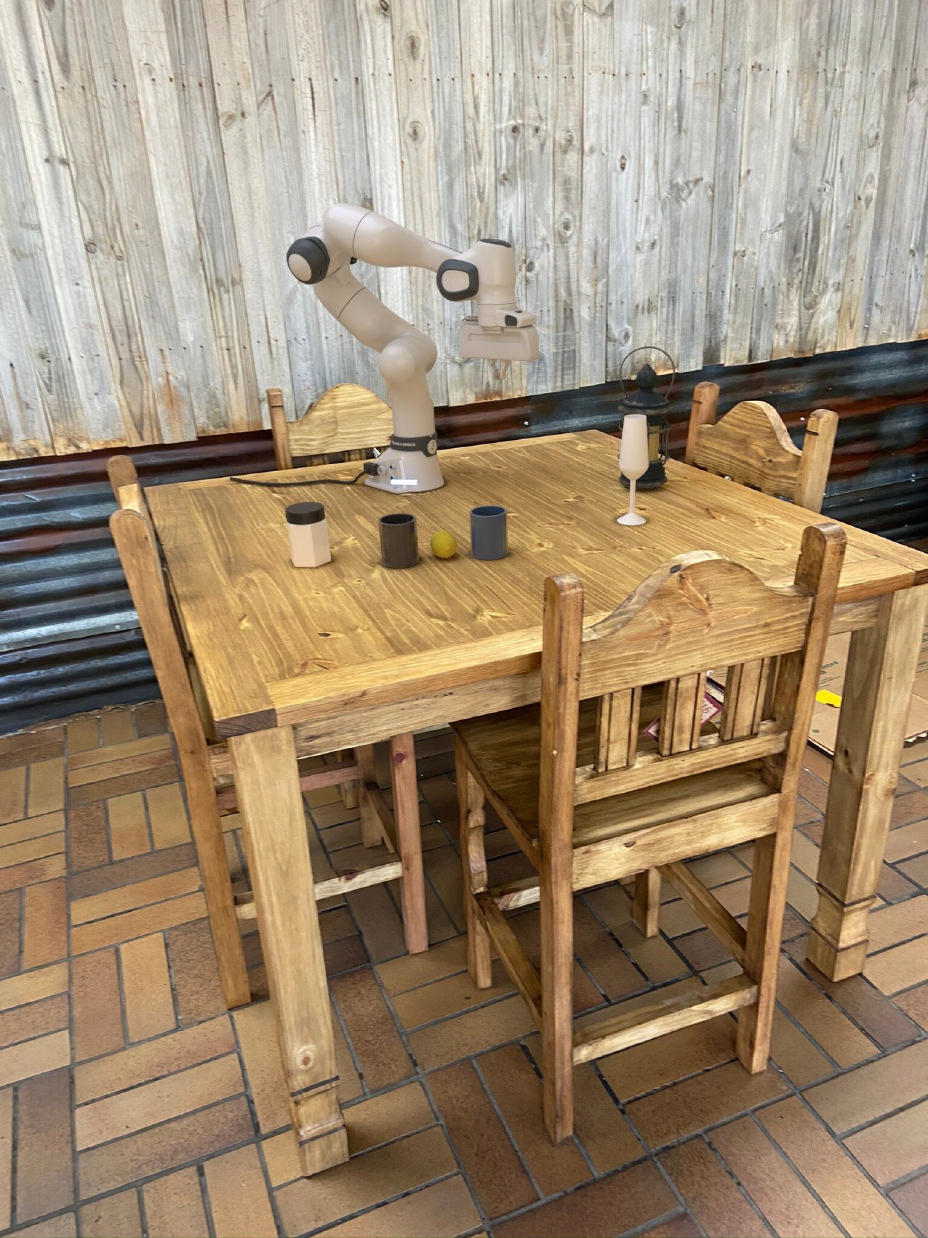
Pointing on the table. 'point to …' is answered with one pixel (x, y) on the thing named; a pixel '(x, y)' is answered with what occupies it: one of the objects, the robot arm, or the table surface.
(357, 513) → the table surface
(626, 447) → the champagne flute
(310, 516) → the jar
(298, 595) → the table surface
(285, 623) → the table surface
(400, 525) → the charcoal cup
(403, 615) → the table surface
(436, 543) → the lemon
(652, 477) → the lantern
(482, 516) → the slate cup
